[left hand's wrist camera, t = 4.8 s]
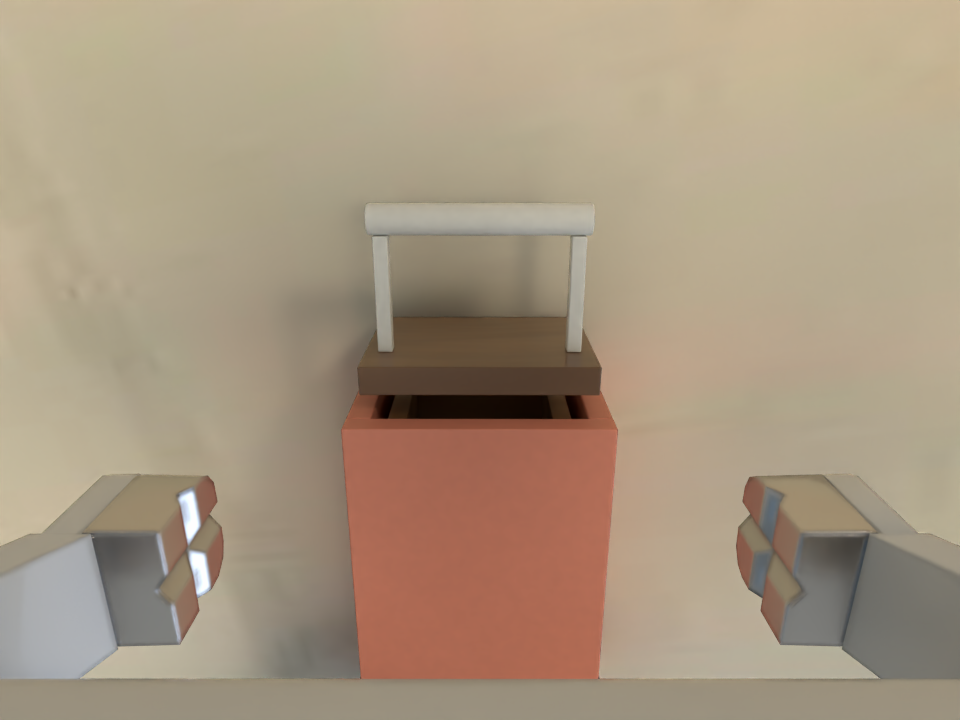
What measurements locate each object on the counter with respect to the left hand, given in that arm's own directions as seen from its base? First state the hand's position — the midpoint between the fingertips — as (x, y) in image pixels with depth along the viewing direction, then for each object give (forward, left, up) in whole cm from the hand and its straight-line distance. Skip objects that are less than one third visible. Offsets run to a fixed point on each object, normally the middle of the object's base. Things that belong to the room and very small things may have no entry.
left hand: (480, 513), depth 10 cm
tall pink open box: (+16, +3, -23) cm, 28 cm away
